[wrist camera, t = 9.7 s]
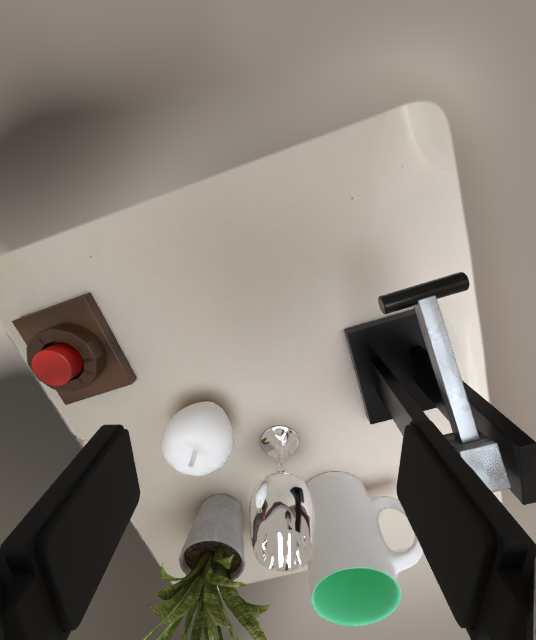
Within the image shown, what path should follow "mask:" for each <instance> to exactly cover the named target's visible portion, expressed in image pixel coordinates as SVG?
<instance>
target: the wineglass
mask: <svg viewBox="0 0 536 640" xmlns="http://www.w3.org/2000/svg"><path fill="white" fill-rule="evenodd" d="M298 446H299V438H298V436H297V434H296V433H295V432H294V431H293V430H292V429H290V428H288V427H285V426H275V427H271V428H269V429H268V430H266V431H265V432H264V433H263V435H262V436H261V447H262V449H263V451H264V452H265V453H266V454H268V455H269V456H272V457H275V458H278V466H277V469H276V473H272V474H270V475H268V476H266V477H264V478H263V479H262V480H261V481H260V482H259V483H258V484H257V486H256V487H255V489H254V491H253V494H252V497H251V502H250V509H249V523H250V534H251V539H252V545H253V551H254V555H255V558H256V559H257V561H258V562H259V563H260V564H261V565H263V566H264V567H266V568H268V569H271V570H275V571H283V572H284V571H292V570H296V569H299V568H301V567H303V566H304V565H306V564H307V563H308V562H309V561H310V560H311V558H312V555H313V551H314V542H315V532H316V515H315V506H314V501H313V498H312V495H311V492H310V490H309V488H308V487H307V485H306V484H305V483H304V482H303V481H302V480H301V479H300V478H299V477H297V476H295V475H293V474H291V473H286V472H285V469H284V466H283V462H282V458H284V457H288V456H290V455H292V454H293V453H294V452H295V451H296V450H297V448H298Z"/></svg>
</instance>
